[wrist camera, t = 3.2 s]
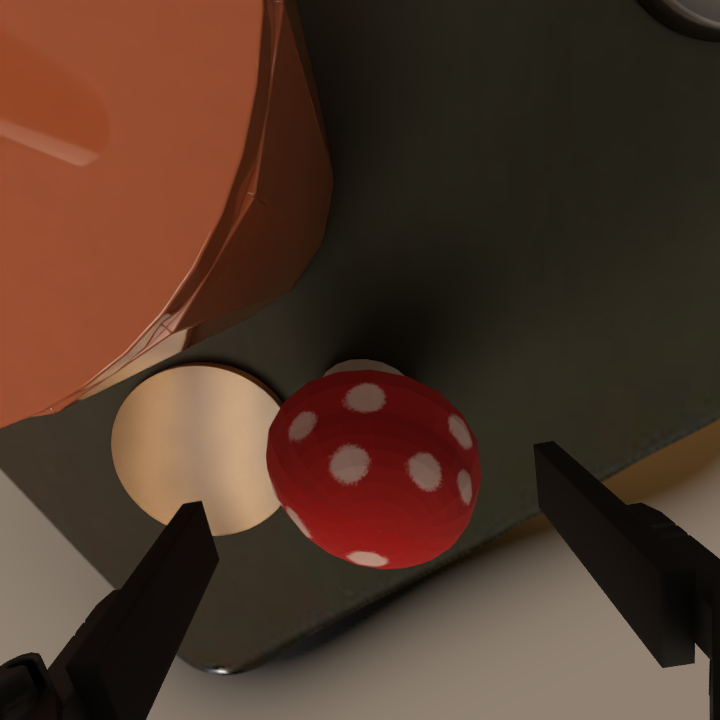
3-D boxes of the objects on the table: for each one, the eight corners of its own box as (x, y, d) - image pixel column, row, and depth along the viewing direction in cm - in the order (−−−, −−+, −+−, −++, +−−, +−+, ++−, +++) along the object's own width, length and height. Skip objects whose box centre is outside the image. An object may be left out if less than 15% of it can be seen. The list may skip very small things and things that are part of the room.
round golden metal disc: (277, 346, 27) (274, 349, 26) (316, 513, 30) (314, 521, 29) (94, 379, 28) (84, 383, 27) (149, 539, 31) (142, 548, 30)
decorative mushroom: (282, 425, 29) (203, 592, 14) (319, 311, 27) (274, 368, 12) (412, 467, 30) (465, 665, 15) (457, 359, 28) (568, 466, 13)
